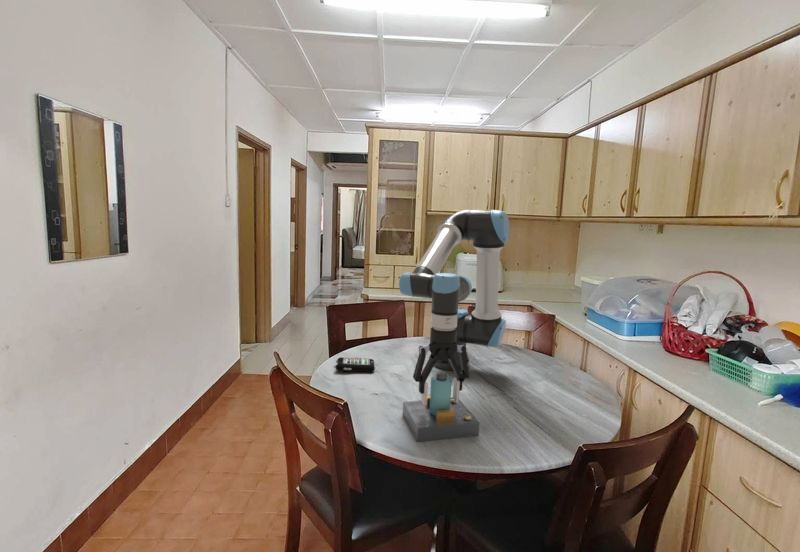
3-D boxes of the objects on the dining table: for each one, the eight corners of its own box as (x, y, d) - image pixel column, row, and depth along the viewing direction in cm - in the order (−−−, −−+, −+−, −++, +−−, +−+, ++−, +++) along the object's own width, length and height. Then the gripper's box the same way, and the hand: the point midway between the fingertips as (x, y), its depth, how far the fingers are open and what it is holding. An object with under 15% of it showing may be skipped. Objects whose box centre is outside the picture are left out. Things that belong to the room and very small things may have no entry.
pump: (445, 406, 123) (447, 369, 121) (452, 415, 117) (455, 377, 115) (426, 407, 121) (428, 371, 120) (433, 417, 115) (435, 378, 114)
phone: (374, 374, 157) (375, 363, 157) (335, 374, 155) (335, 363, 155) (373, 364, 168) (373, 354, 167) (336, 364, 166) (336, 354, 165)
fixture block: (457, 409, 129) (458, 390, 128) (478, 435, 114) (479, 413, 113) (402, 414, 125) (403, 394, 124) (417, 441, 110) (418, 419, 109)
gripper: (410, 332, 109) (407, 411, 112) (484, 329, 114) (479, 404, 118) (403, 325, 116) (400, 399, 119) (473, 323, 122) (469, 393, 125)
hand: (440, 402), depth 118 cm, fingers open, 9 cm apart
